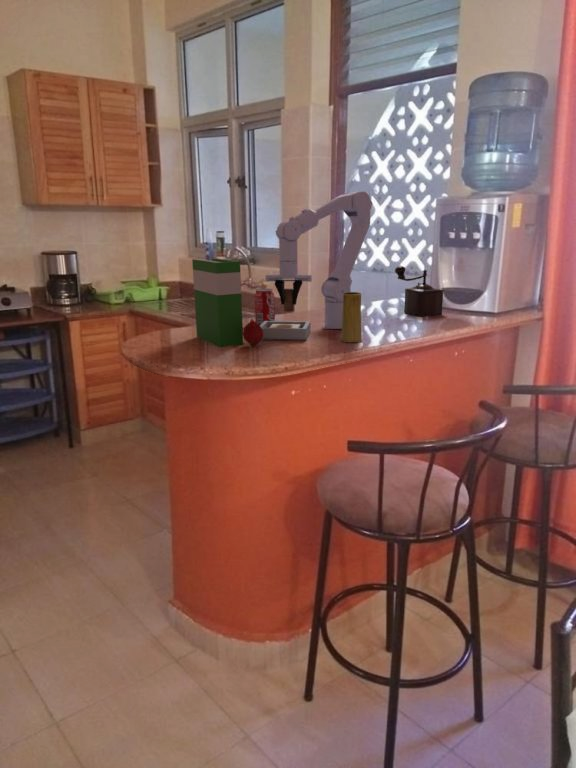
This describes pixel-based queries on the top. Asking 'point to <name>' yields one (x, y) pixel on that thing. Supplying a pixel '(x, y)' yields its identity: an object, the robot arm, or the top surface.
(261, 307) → the soda can
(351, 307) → the vase
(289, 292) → the peg
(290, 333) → the box
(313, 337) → the top surface
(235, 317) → the green cereal box
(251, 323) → the onion
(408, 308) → the manual coffee grinder
